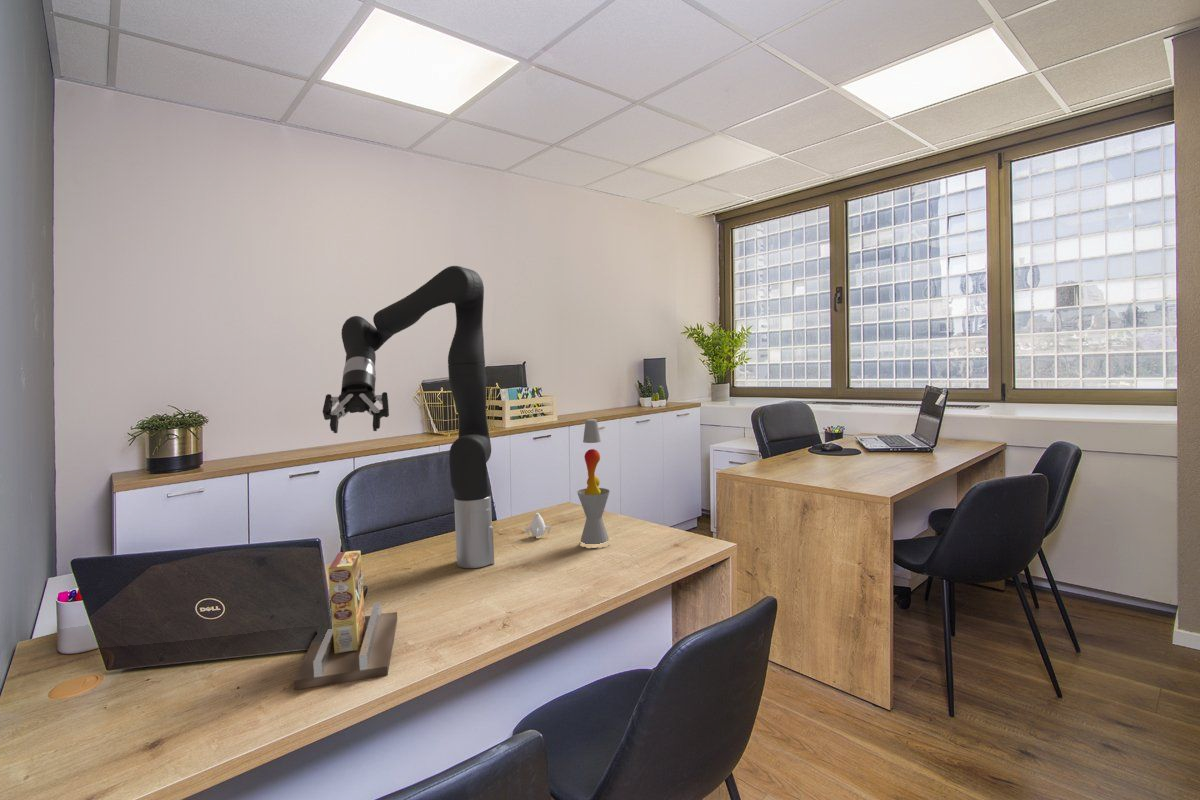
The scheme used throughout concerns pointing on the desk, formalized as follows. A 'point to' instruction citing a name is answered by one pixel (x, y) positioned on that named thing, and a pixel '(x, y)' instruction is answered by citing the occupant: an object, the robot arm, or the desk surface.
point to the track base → (350, 654)
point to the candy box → (347, 601)
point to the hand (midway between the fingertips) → (355, 429)
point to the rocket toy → (537, 526)
